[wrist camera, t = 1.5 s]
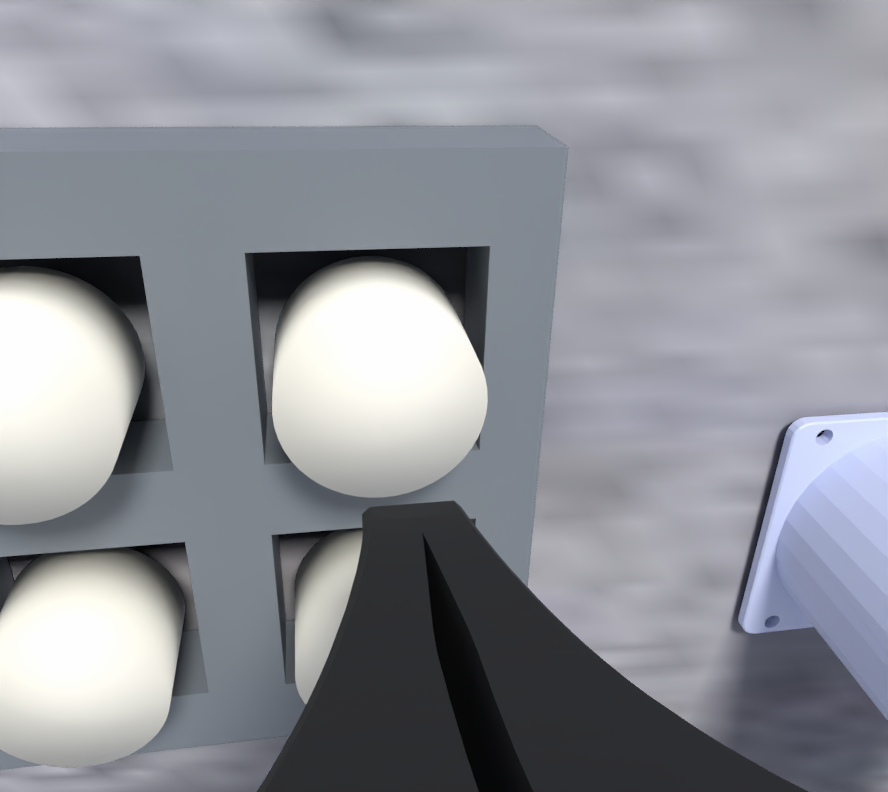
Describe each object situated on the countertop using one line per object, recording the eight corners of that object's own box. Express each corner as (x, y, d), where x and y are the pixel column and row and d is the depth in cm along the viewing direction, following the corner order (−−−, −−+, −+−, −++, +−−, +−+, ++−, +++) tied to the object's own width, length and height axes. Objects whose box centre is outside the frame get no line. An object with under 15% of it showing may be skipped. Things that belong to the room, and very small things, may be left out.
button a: (463, 252, 18) (493, 303, 15) (457, 419, 20) (482, 489, 17) (267, 258, 17) (263, 312, 14) (281, 430, 19) (280, 505, 16)
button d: (173, 535, 20) (155, 622, 17) (194, 660, 22) (180, 755, 19) (-10, 550, 19) (-57, 642, 17) (28, 677, 21) (-9, 778, 19)
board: (537, 125, 18) (568, 146, 16) (497, 648, 26) (516, 708, 24) (-201, 129, 16) (-275, 154, 14) (-8, 702, 23) (-37, 774, 21)
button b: (128, 263, 17) (98, 319, 14) (157, 438, 19) (136, 516, 16) (-95, 269, 16) (-170, 329, 13) (-40, 450, 18) (-97, 533, 15)
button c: (454, 513, 21) (477, 591, 18) (449, 634, 23) (469, 720, 20) (289, 526, 20) (289, 609, 18) (299, 649, 22) (300, 740, 20)
